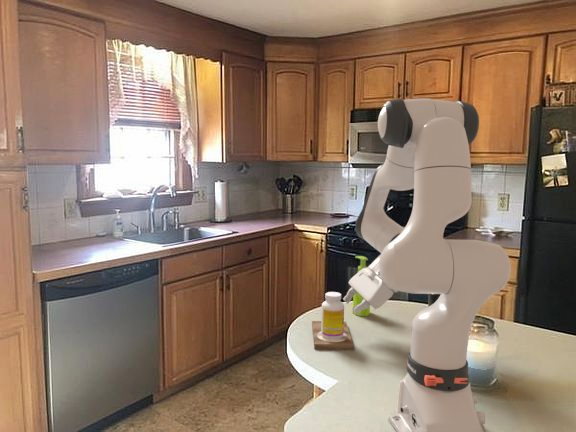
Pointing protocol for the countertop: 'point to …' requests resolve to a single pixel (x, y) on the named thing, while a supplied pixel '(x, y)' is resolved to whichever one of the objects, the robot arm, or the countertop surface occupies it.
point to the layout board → (325, 343)
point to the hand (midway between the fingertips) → (349, 306)
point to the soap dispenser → (358, 298)
